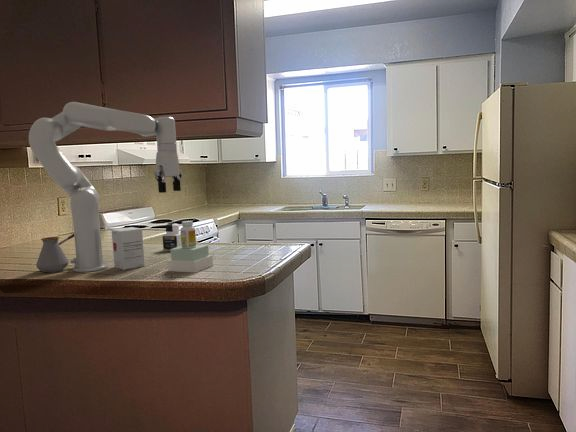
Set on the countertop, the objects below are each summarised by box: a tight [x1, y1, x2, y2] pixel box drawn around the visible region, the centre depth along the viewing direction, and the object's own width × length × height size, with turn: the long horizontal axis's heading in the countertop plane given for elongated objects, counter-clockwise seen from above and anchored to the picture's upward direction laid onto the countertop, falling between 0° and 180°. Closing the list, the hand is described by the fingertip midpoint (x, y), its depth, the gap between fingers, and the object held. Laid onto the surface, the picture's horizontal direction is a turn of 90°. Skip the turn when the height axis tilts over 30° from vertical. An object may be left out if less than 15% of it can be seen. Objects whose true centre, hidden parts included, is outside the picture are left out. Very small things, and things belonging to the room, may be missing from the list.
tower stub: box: [166, 244, 214, 273], centre depth 187 cm, size 12×12×8 cm
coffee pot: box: [35, 233, 74, 273], centre depth 197 cm, size 21×12×15 cm, turn 143°
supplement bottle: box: [180, 220, 197, 248], centre depth 186 cm, size 5×5×10 cm
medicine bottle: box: [162, 223, 182, 252], centre depth 232 cm, size 7×7×12 cm
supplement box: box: [111, 226, 146, 271], centre depth 195 cm, size 9×9×15 cm
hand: (169, 191), depth 200 cm, fingers open, 9 cm apart
